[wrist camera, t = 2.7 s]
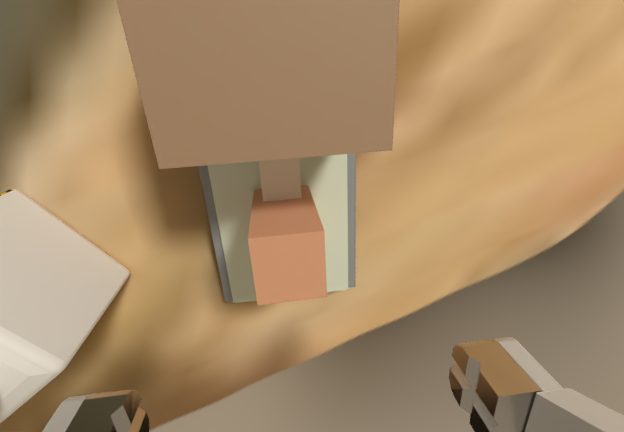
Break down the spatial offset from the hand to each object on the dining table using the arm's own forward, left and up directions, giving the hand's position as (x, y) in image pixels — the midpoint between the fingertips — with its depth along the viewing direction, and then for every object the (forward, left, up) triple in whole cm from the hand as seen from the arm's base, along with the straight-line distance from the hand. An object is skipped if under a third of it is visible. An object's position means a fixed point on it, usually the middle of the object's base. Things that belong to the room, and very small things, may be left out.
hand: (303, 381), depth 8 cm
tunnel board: (-5, 0, -11) cm, 12 cm away
